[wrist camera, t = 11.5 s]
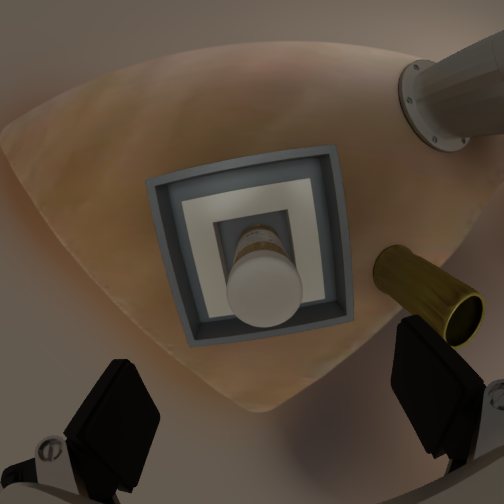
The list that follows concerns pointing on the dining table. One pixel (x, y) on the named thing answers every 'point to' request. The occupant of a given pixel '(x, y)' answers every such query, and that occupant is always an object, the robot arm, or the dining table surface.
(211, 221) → the block
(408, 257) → the vase
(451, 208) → the dining table surface
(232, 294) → the sprinkles bottle
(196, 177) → the open box
